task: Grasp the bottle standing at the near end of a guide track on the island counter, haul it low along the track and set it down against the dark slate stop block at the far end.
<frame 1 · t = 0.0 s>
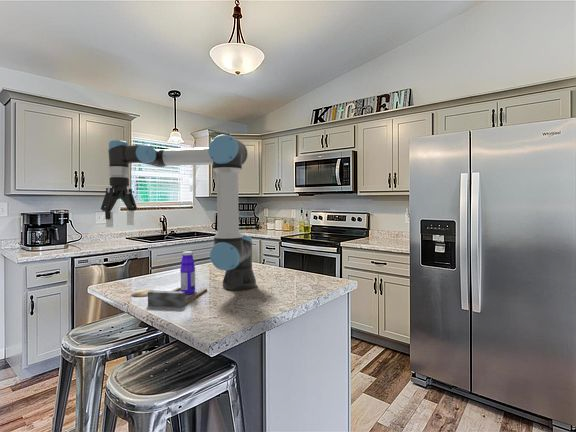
hand: (120, 226, 144), 28 cm above the countertop, fingers open, 13 cm apart
cork trivet: (143, 293, 139), on the countertop
bottle: (188, 293, 140), on the countertop
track: (181, 296, 134), on the countertop
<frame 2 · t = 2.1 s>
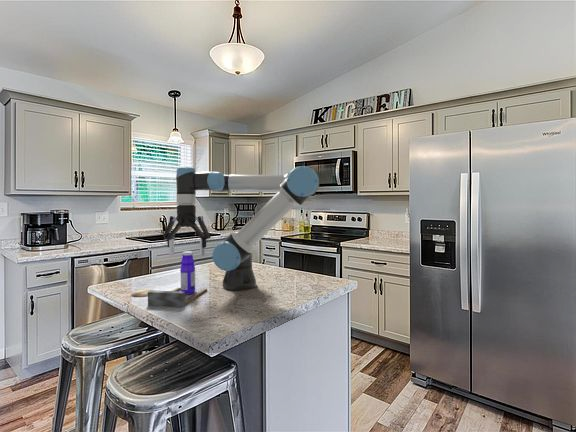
hand: (186, 255, 139), 16 cm above the countertop, fingers open, 13 cm apart
nothing on the countertop moved.
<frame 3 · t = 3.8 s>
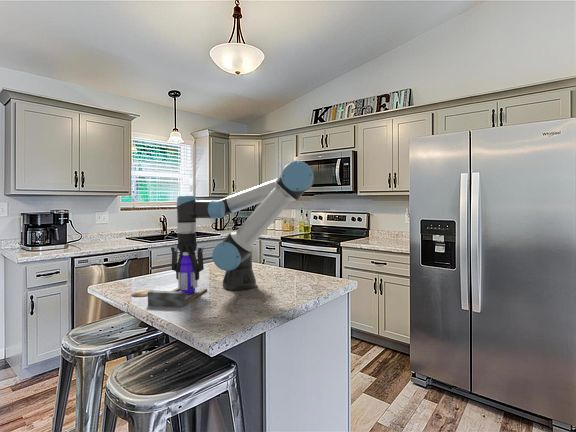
hand: (188, 287, 140), 2 cm above the countertop, fingers closed on bottle, 6 cm apart
bottle: (188, 293, 140), on the countertop, touching gripper
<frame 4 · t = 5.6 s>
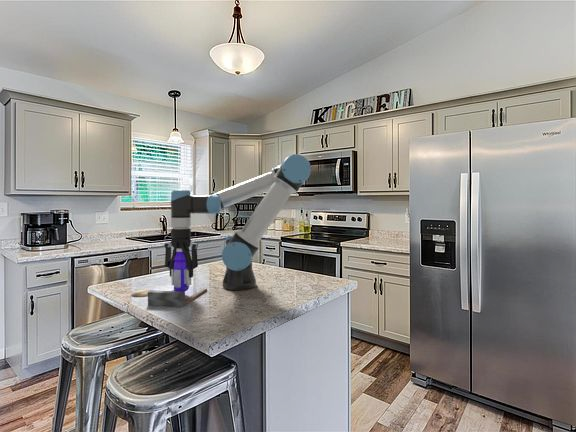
hand: (181, 284, 135), 5 cm above the countertop, fingers closed on bottle, 6 cm apart
bottle: (181, 291, 135), point 2 cm above the countertop, touching gripper
when the fingers open (3 cm above the countertop, at t = 7.5 s): bottle stays where it is, on the countertop.
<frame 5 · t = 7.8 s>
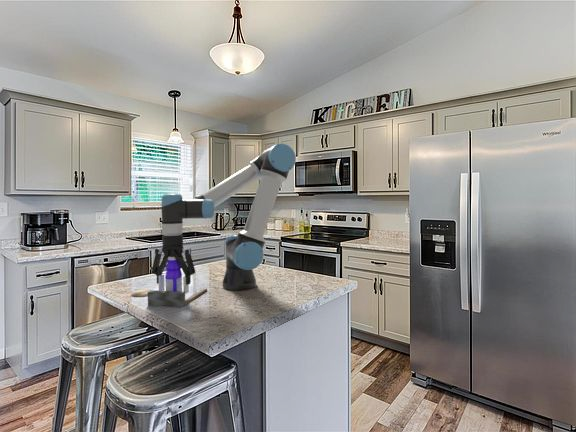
hand: (173, 292, 128), 3 cm above the countertop, fingers open, 9 cm apart
bottle: (174, 301, 128), on the countertop
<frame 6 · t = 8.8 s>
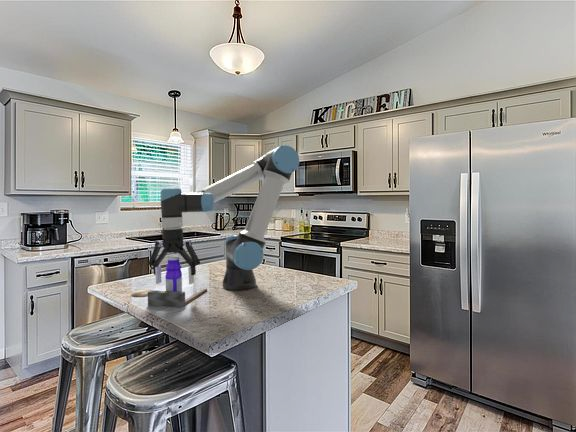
hand: (175, 283, 128), 7 cm above the countertop, fingers open, 13 cm apart
nothing on the countertop moved.
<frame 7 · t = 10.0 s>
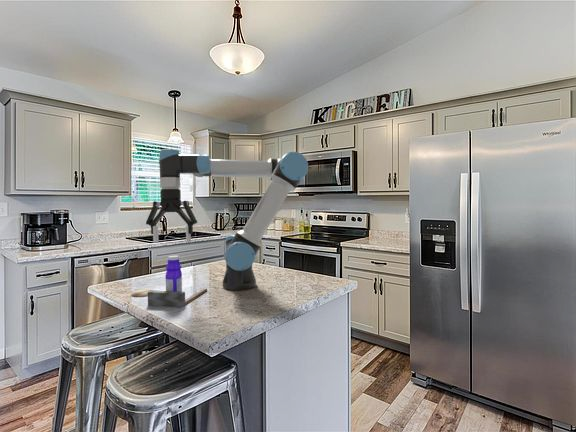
hand: (172, 242, 132), 22 cm above the countertop, fingers open, 13 cm apart
nothing on the countertop moved.
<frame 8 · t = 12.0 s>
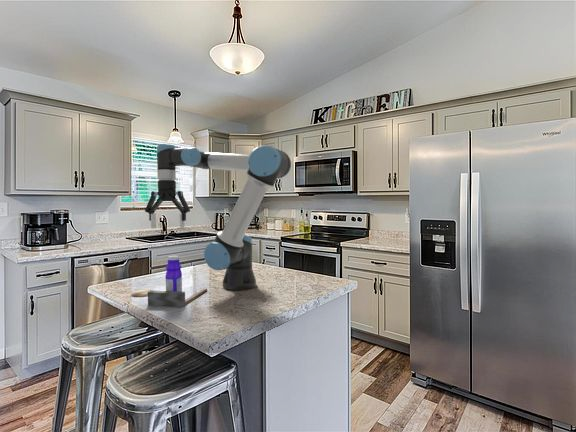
hand: (167, 228, 147), 27 cm above the countertop, fingers open, 13 cm apart
nothing on the countertop moved.
at the end: bottle 0.3 cm from the target spot, on the countertop; bottle tilted 0°; the gripper is holding nothing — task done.
